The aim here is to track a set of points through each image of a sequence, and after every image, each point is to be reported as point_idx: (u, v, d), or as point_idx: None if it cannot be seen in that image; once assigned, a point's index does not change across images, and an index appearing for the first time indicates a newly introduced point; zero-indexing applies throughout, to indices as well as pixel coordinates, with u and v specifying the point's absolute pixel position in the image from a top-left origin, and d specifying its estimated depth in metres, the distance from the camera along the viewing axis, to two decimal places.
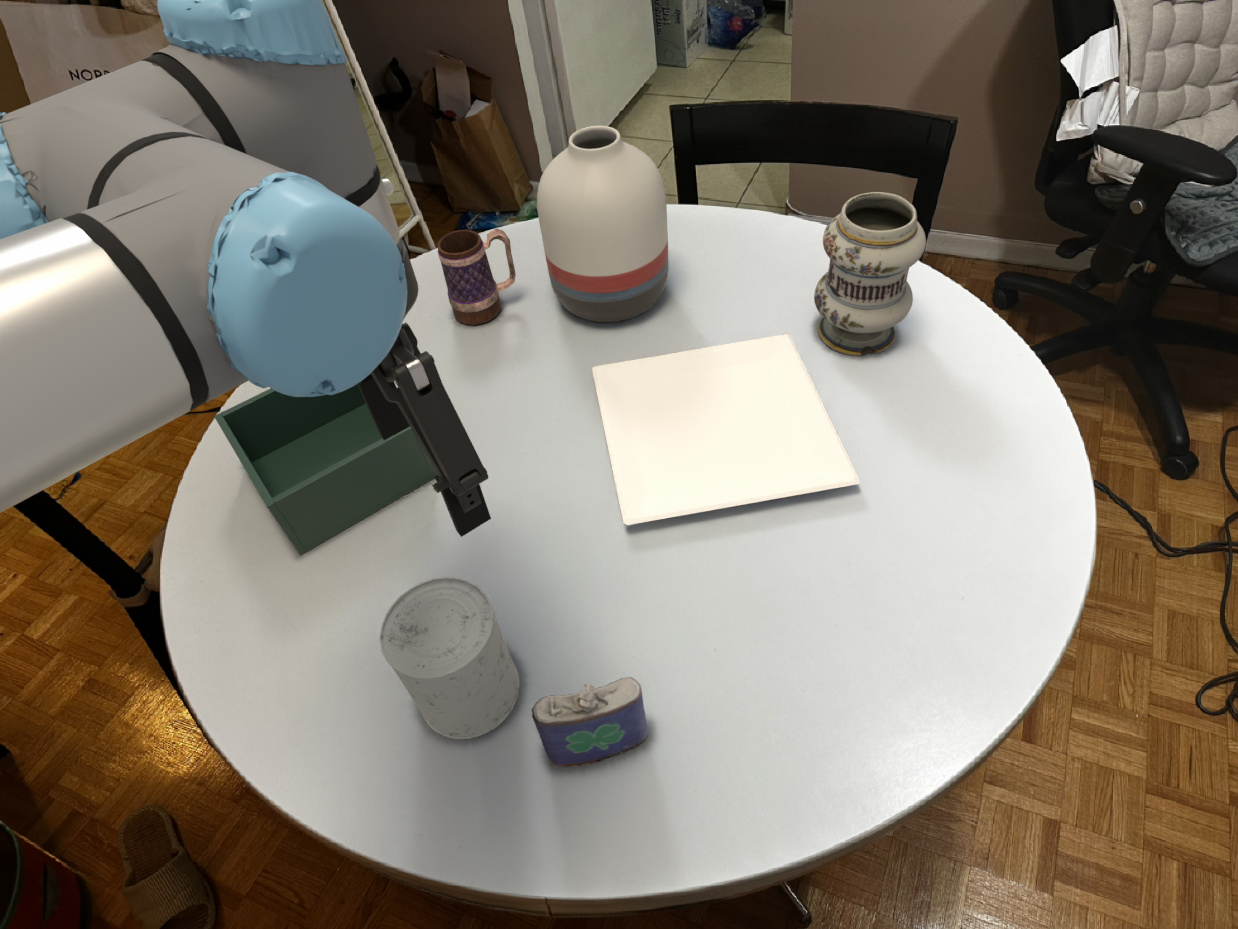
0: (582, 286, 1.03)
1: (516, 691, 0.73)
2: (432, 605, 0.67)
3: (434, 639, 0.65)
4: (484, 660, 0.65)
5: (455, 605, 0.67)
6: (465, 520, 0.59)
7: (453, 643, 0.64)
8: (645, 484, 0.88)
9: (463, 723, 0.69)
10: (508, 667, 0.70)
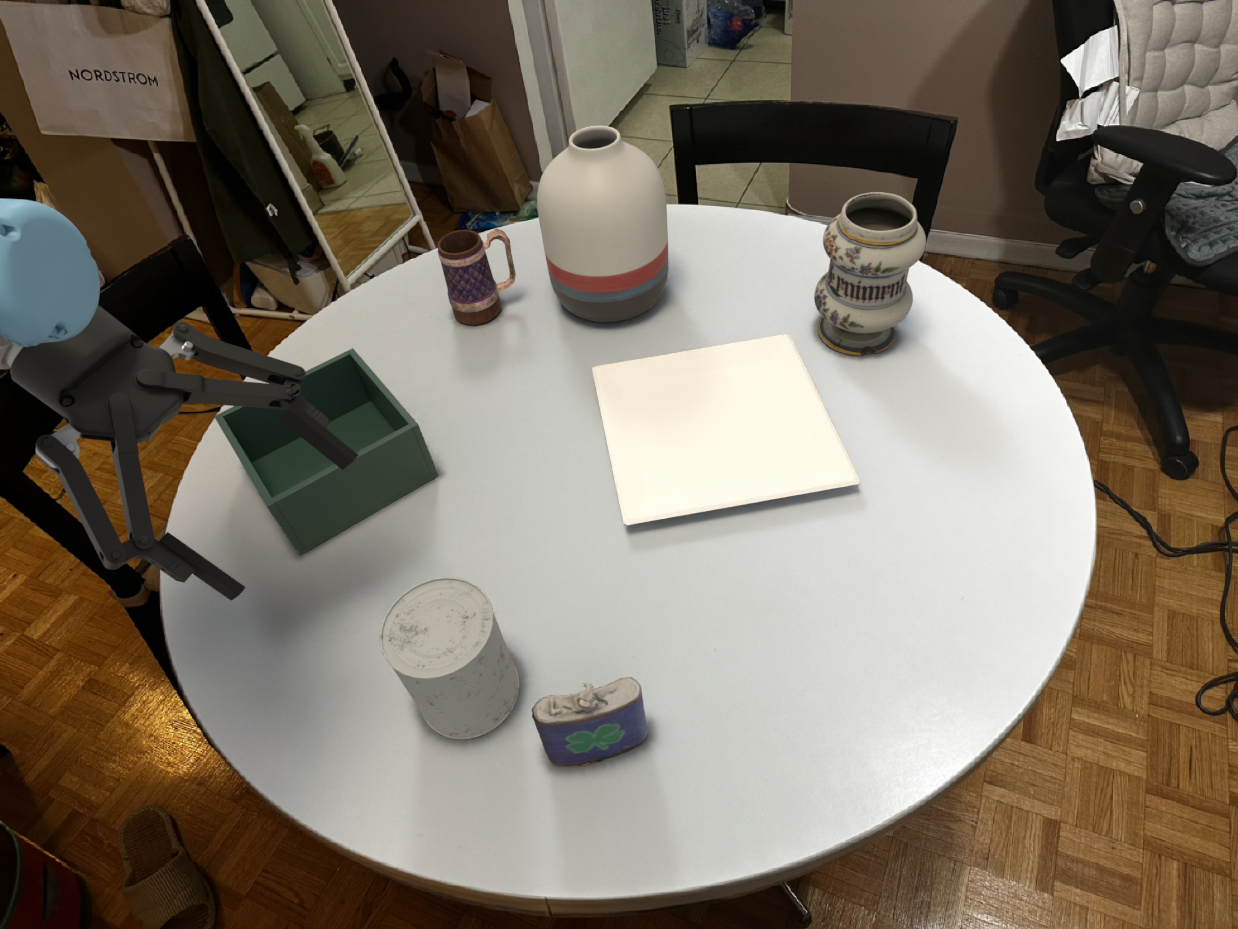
0: (582, 286, 1.03)
1: (516, 691, 0.73)
2: (432, 605, 0.67)
3: (434, 639, 0.65)
4: (484, 660, 0.65)
5: (455, 605, 0.67)
6: None
7: (453, 643, 0.64)
8: (645, 484, 0.88)
9: (463, 723, 0.69)
10: (508, 667, 0.70)
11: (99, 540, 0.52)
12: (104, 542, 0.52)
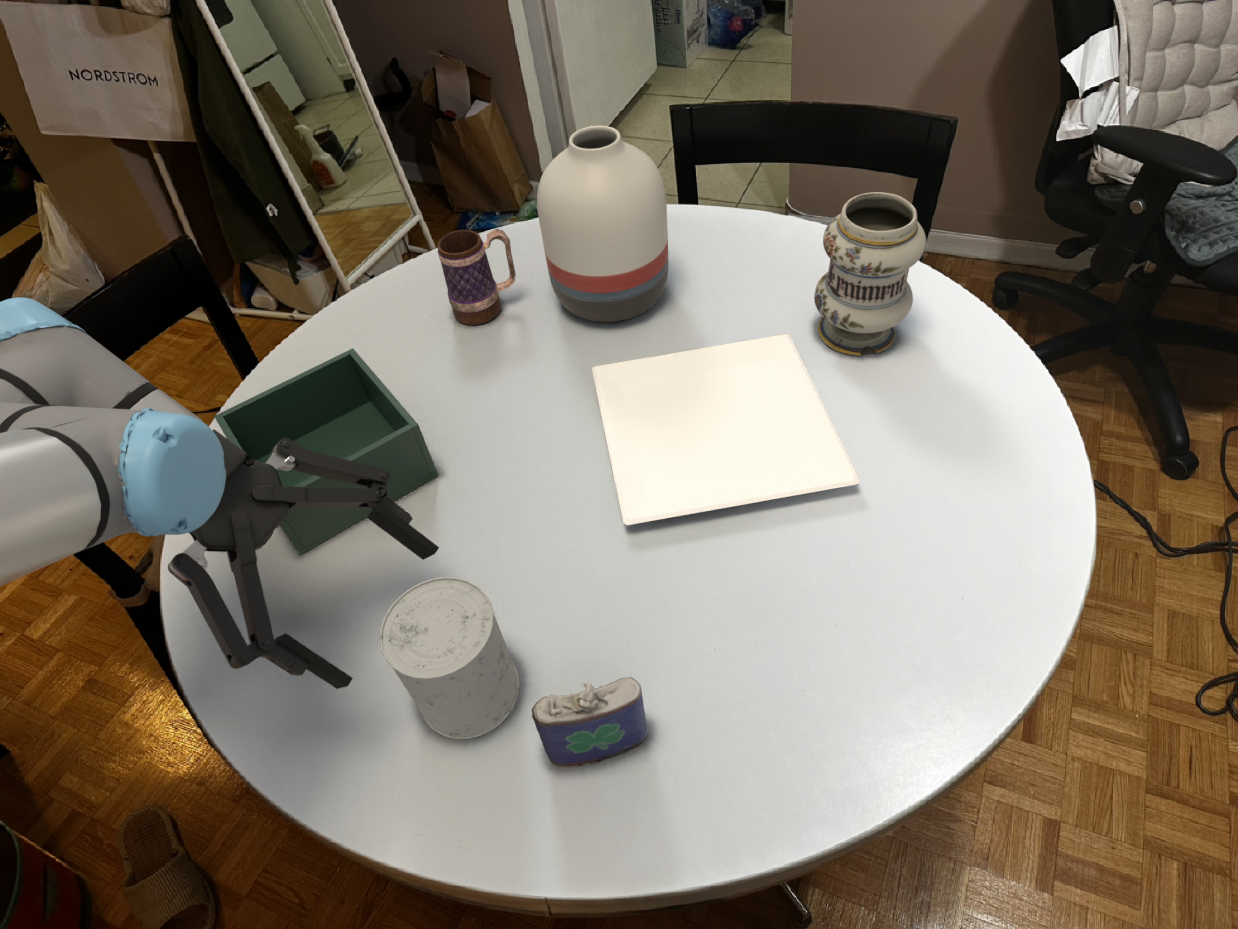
0: (582, 286, 1.03)
1: (516, 691, 0.73)
2: (432, 605, 0.67)
3: (434, 639, 0.65)
4: (484, 660, 0.65)
5: (455, 605, 0.67)
6: None
7: (453, 643, 0.64)
8: (645, 484, 0.88)
9: (463, 723, 0.69)
10: (508, 667, 0.70)
11: (230, 645, 0.59)
12: (234, 646, 0.59)
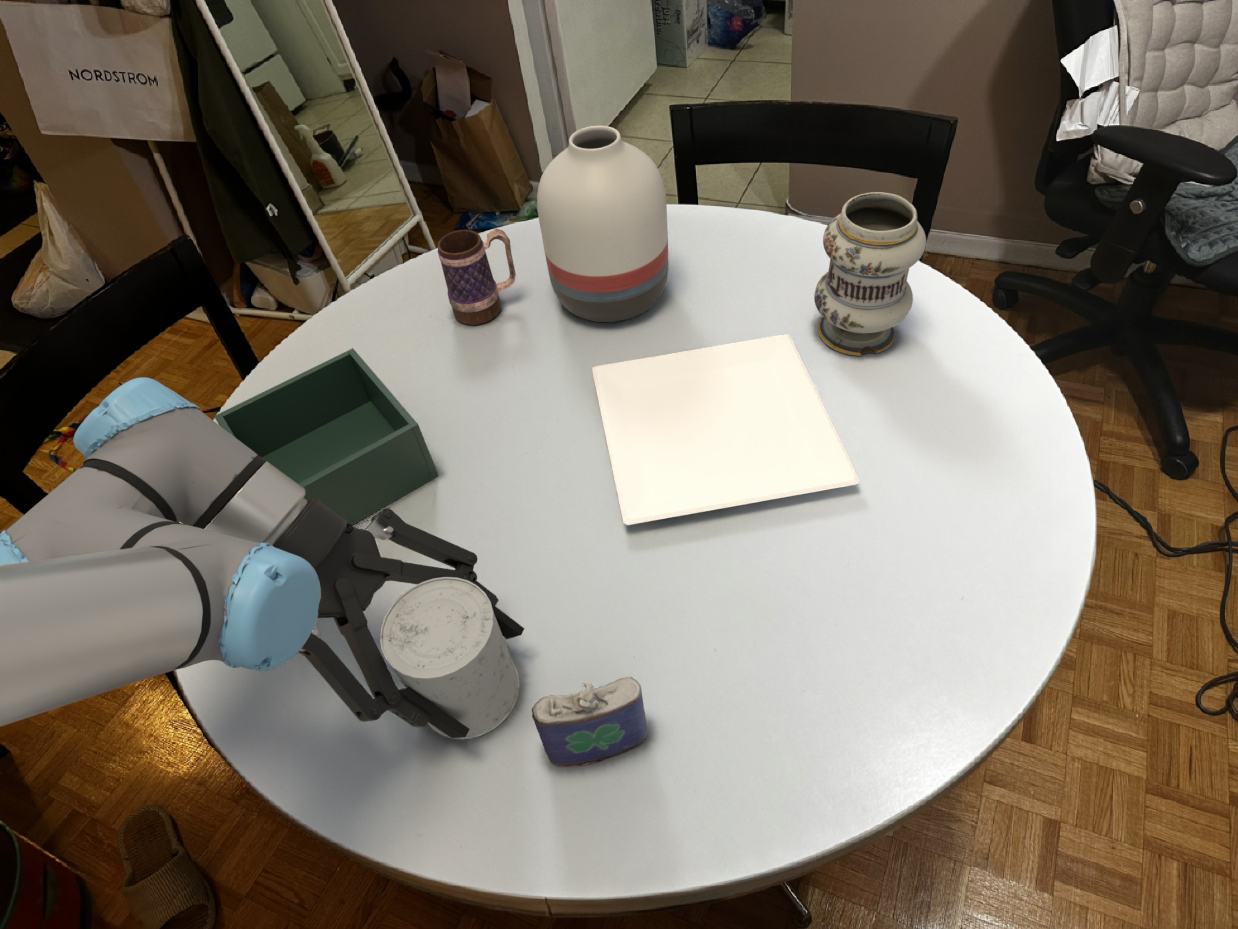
0: (582, 286, 1.03)
1: (516, 691, 0.73)
2: (432, 605, 0.67)
3: (434, 639, 0.65)
4: (484, 660, 0.65)
5: (455, 605, 0.67)
6: None
7: (453, 643, 0.64)
8: (645, 484, 0.88)
9: (463, 723, 0.69)
10: (508, 667, 0.70)
11: (359, 704, 0.62)
12: (363, 704, 0.62)
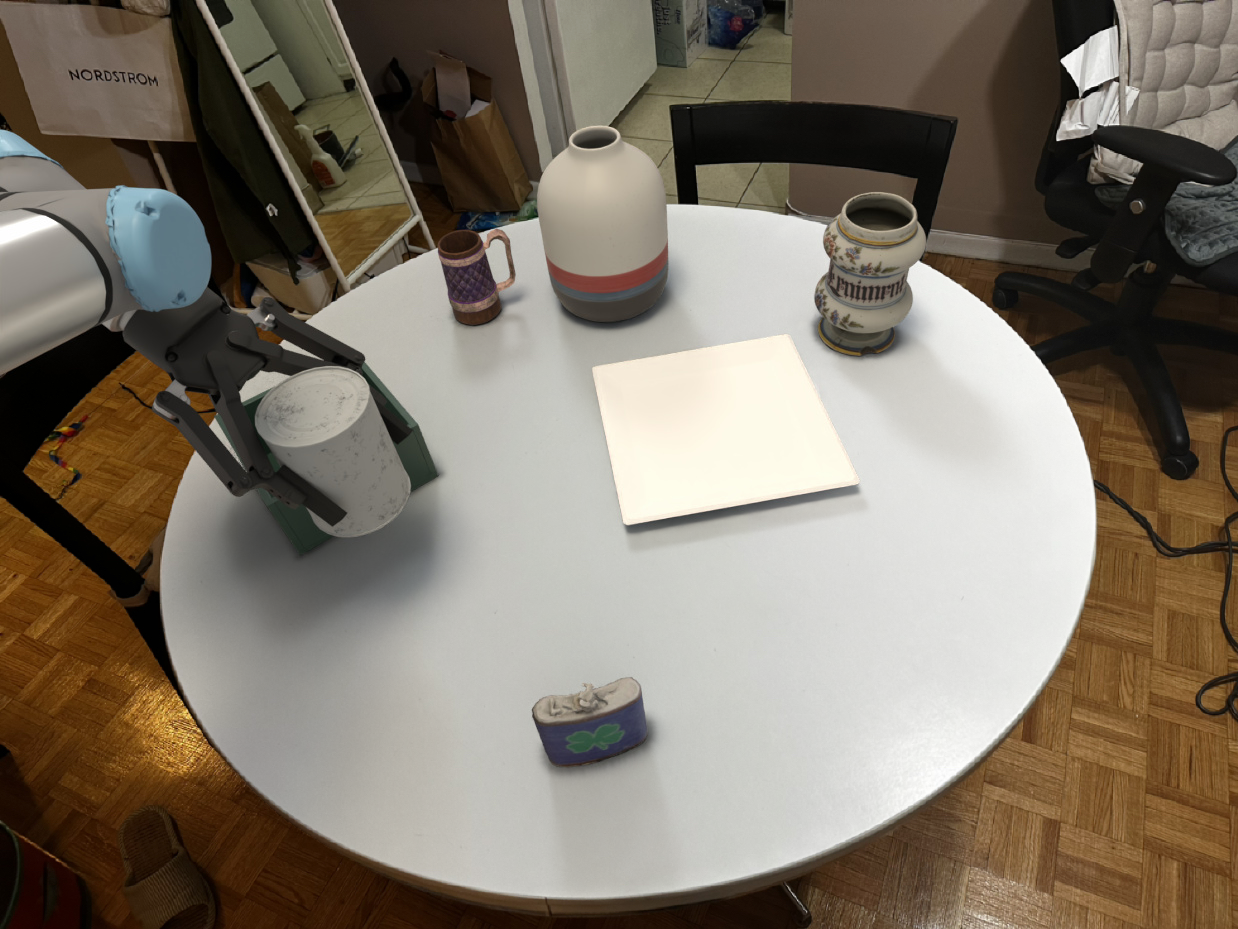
0: (582, 286, 1.03)
1: (406, 495, 0.73)
2: (311, 389, 0.67)
3: (309, 417, 0.65)
4: (358, 437, 0.65)
5: (334, 389, 0.67)
6: None
7: (327, 419, 0.64)
8: (645, 484, 0.88)
9: None
10: (393, 463, 0.70)
11: (228, 471, 0.62)
12: (232, 472, 0.62)
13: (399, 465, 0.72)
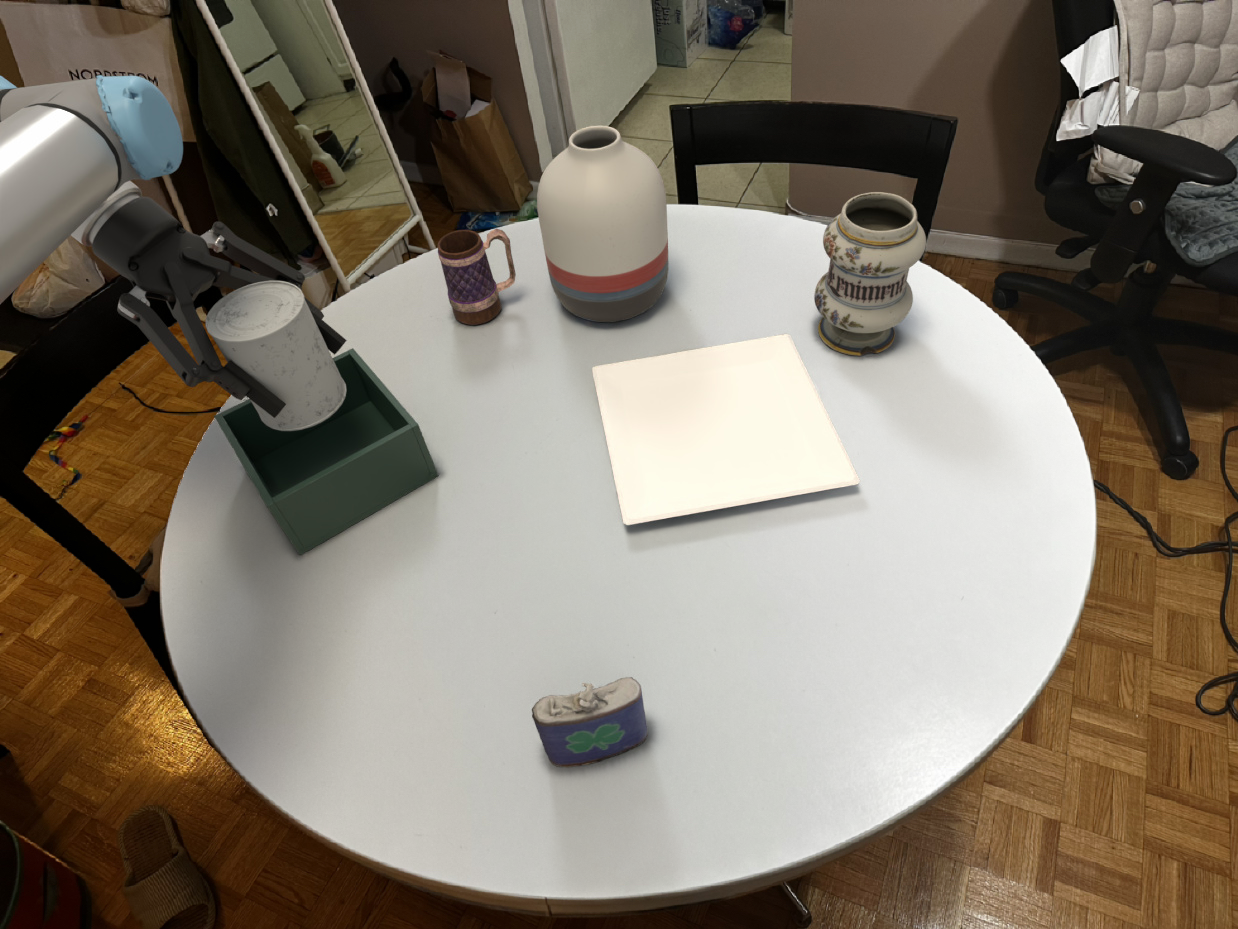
0: (582, 286, 1.03)
1: (341, 397, 0.85)
2: (255, 299, 0.78)
3: (251, 319, 0.76)
4: (294, 337, 0.76)
5: (274, 298, 0.78)
6: None
7: (267, 321, 0.76)
8: (645, 484, 0.88)
9: (286, 408, 0.80)
10: (328, 365, 0.82)
11: (182, 362, 0.73)
12: (185, 363, 0.74)
13: (334, 369, 0.83)
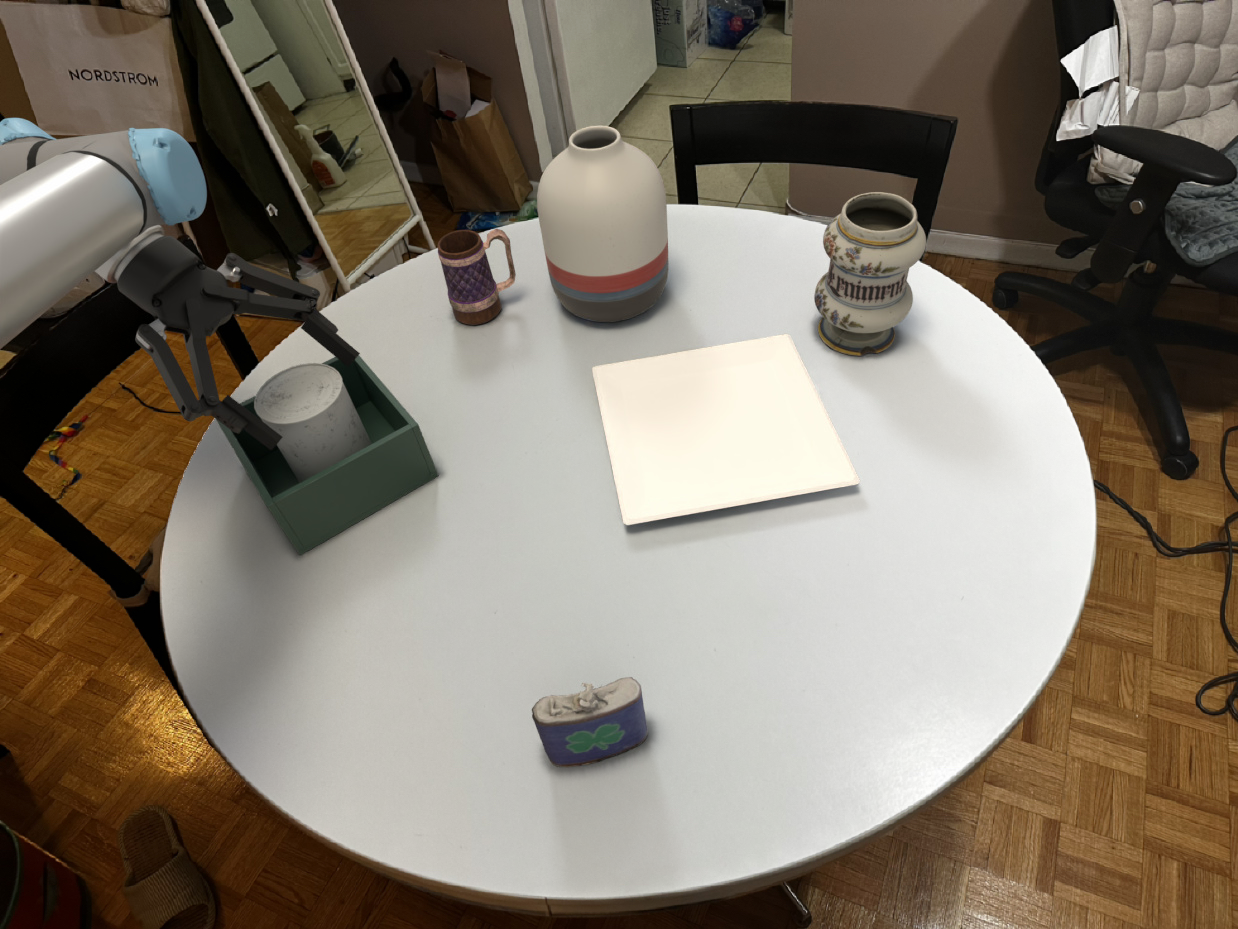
0: (582, 286, 1.03)
1: None
2: (298, 381, 0.87)
3: (295, 401, 0.84)
4: (333, 417, 0.84)
5: (315, 380, 0.86)
6: None
7: (309, 403, 0.84)
8: (645, 484, 0.88)
9: None
10: (362, 438, 0.90)
11: (182, 396, 0.75)
12: (186, 398, 0.75)
13: (367, 441, 0.92)
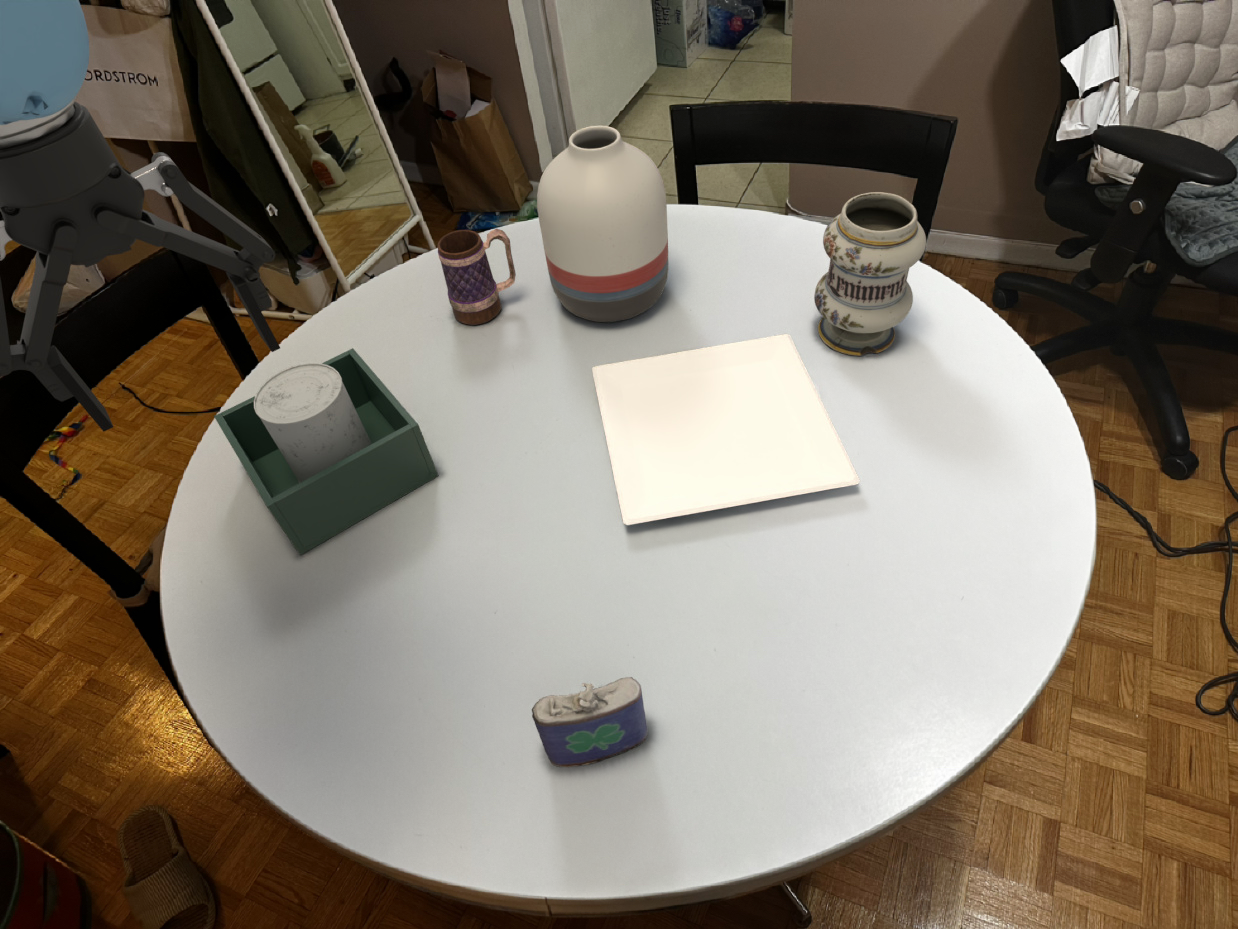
0: (582, 286, 1.03)
1: None
2: (297, 381, 0.87)
3: (295, 401, 0.84)
4: (333, 417, 0.84)
5: (314, 380, 0.86)
6: None
7: (309, 403, 0.84)
8: (645, 484, 0.88)
9: None
10: (361, 438, 0.90)
11: None
12: None
13: (367, 440, 0.92)
